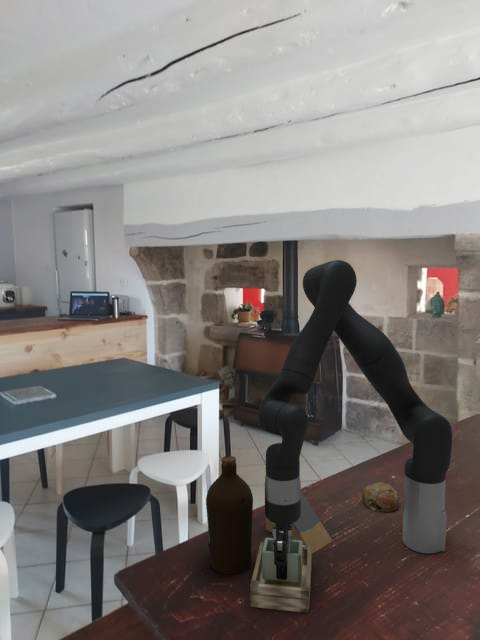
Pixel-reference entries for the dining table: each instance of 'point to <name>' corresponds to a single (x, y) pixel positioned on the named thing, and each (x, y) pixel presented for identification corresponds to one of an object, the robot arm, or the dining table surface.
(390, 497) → the bread roll
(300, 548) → the box
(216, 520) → the olive oil
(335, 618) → the dining table surface
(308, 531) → the sandwich container
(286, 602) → the big crate
